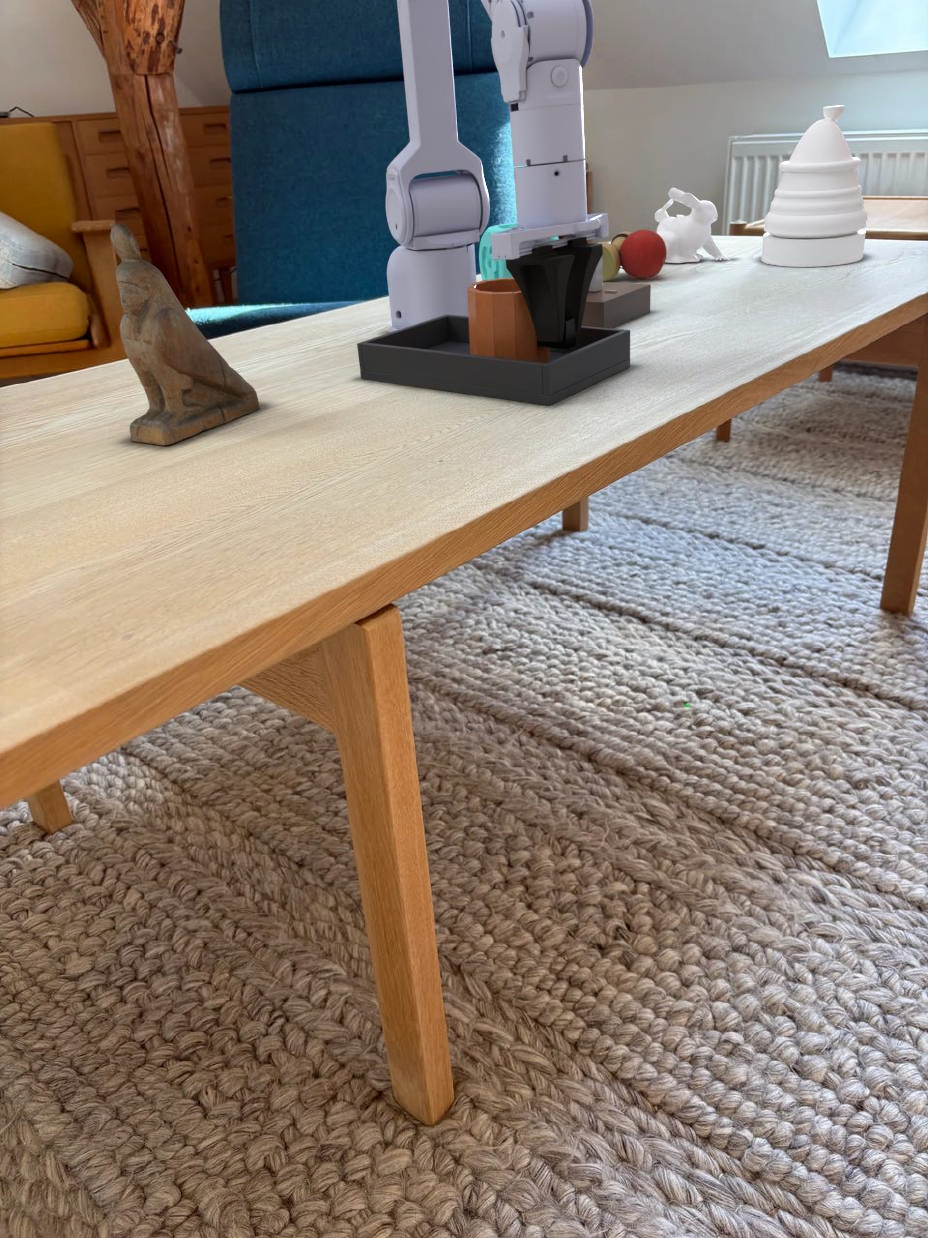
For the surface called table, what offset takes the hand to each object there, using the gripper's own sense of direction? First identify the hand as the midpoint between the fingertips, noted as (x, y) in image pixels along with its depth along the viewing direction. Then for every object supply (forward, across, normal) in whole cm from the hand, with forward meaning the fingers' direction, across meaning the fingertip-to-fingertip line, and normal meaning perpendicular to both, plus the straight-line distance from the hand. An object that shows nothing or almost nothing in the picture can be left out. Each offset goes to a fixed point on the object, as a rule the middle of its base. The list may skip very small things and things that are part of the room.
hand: (558, 337), depth 84 cm
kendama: (+2, +47, +23) cm, 52 cm away
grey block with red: (0, +24, +12) cm, 27 cm away
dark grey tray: (+3, 0, +8) cm, 9 cm away
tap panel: (+3, +24, +13) cm, 27 cm away
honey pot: (+2, +66, +2) cm, 66 cm away
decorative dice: (+2, +34, +28) cm, 43 cm away
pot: (+3, 0, +4) cm, 5 cm away
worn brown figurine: (+3, -22, +22) cm, 32 cm away
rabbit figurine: (+2, +60, +18) cm, 62 cm away
